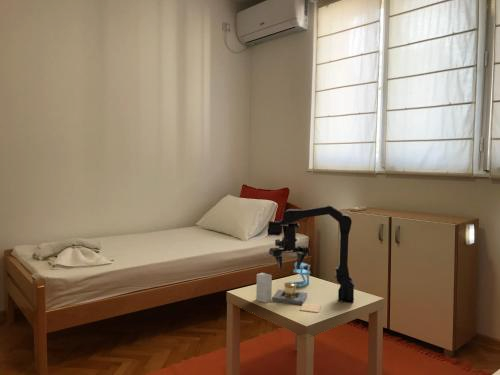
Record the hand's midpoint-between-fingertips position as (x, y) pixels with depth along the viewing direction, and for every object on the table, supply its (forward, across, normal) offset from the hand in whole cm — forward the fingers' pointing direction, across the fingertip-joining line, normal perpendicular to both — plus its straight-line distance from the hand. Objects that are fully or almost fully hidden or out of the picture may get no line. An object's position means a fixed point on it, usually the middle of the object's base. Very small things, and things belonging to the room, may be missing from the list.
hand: (289, 268), depth 191 cm
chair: (+13, -14, -14) cm, 24 cm away
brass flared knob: (+13, +2, +4) cm, 14 cm away
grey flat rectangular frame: (+13, +2, +4) cm, 14 cm away
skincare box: (+13, +14, +2) cm, 19 cm away
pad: (+13, -2, +18) cm, 22 cm away
